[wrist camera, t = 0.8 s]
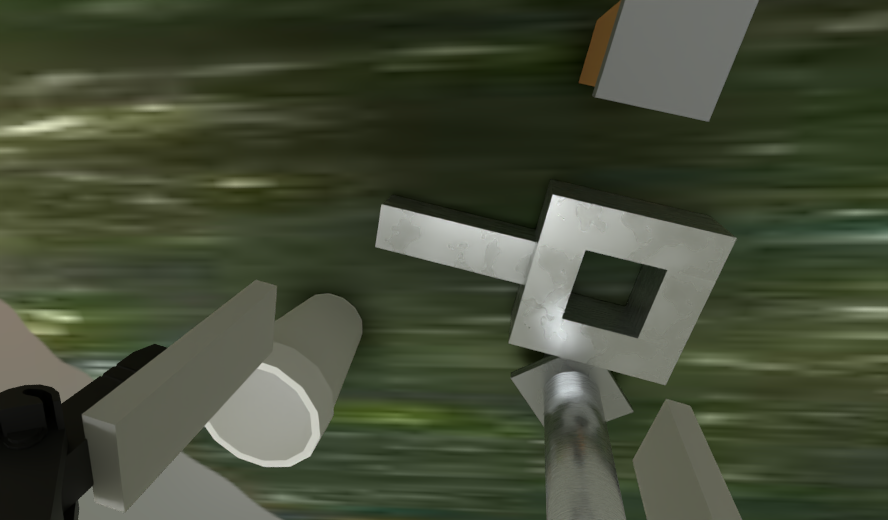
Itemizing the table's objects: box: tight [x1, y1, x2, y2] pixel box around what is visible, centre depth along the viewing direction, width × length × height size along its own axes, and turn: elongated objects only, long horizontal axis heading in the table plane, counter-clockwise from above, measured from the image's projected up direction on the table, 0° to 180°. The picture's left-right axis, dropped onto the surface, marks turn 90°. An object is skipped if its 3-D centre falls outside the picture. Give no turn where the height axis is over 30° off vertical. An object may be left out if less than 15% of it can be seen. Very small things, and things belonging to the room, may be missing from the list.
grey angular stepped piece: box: [375, 179, 737, 520], centre depth 31 cm, size 20×24×18 cm
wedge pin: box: [579, 0, 759, 122], centre depth 25 cm, size 5×5×14 cm
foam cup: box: [205, 293, 363, 467], centre depth 38 cm, size 10×9×13 cm
